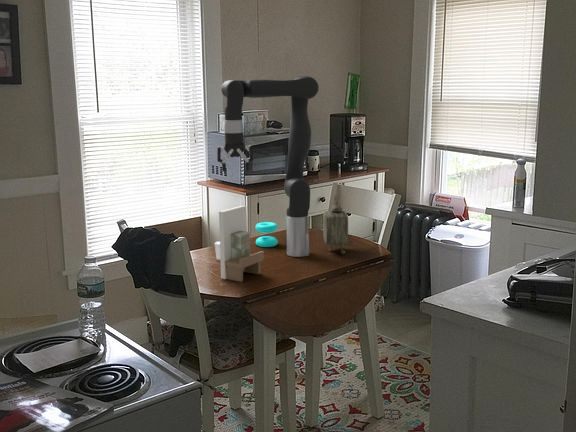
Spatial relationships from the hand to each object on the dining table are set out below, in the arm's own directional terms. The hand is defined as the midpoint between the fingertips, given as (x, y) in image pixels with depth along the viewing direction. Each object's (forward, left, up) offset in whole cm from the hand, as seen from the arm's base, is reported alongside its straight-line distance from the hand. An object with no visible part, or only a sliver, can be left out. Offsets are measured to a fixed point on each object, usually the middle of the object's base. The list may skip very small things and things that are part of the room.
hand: (235, 171), depth 254 cm
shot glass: (+6, -7, -38) cm, 39 cm away
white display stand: (-1, +19, -38) cm, 42 cm away
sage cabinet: (-1, +19, -31) cm, 36 cm away
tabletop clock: (-43, -12, -38) cm, 58 cm away
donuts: (-14, -27, -38) cm, 48 cm away
